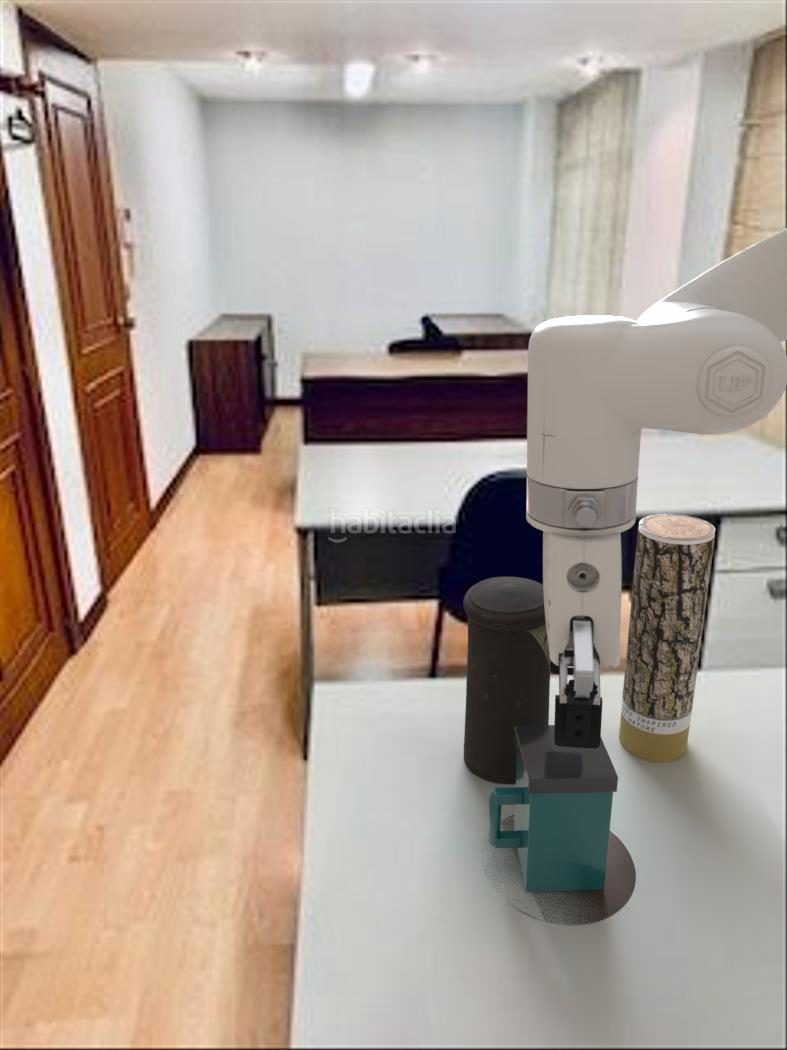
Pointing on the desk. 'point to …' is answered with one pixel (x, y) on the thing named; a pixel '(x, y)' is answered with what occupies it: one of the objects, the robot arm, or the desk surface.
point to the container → (504, 672)
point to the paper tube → (665, 634)
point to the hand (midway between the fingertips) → (572, 706)
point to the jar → (557, 812)
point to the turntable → (625, 865)
